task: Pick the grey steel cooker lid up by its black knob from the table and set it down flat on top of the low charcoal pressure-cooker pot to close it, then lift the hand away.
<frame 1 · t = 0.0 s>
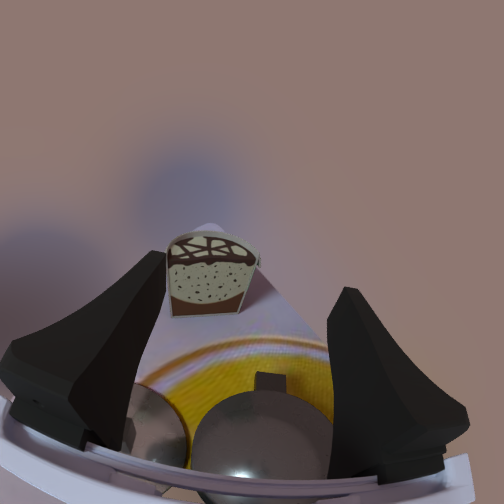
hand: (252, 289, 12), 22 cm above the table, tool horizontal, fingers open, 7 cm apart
cooker pot: (259, 468, 24), on the table
cooker lid: (115, 441, 23), on the table
food container: (201, 302, 43), on the table
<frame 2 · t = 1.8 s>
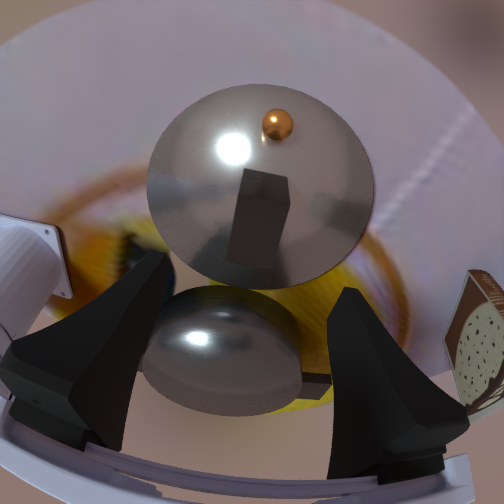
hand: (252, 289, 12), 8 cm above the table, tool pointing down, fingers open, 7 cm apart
cooker pot: (227, 338, 27), on the table
cooker lid: (259, 195, 19), on the table
food container: (477, 301, 23), on the table
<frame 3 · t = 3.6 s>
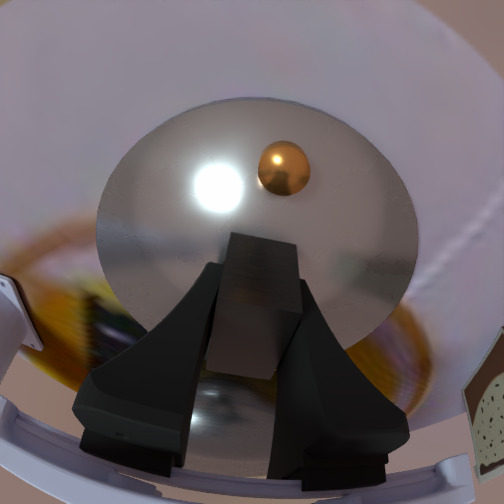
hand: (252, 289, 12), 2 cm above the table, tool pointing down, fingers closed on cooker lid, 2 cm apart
cooker pot: (219, 400, 22), on the table
cooker lid: (254, 262, 13), on the table, touching gripper
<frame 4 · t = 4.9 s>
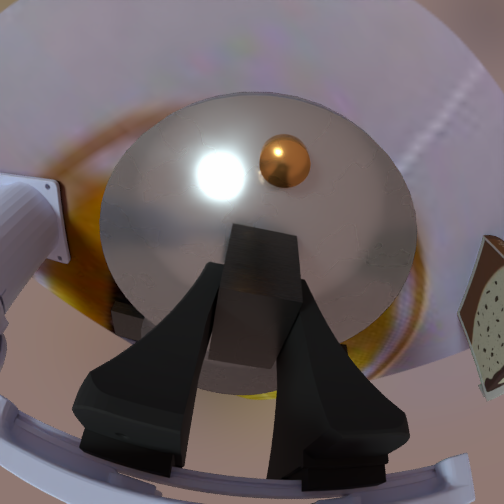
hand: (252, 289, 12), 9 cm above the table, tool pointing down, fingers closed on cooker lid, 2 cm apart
cooker pot: (233, 306, 25), on the table
cooker lid: (256, 253, 14), point 7 cm above the table, touching gripper
food container: (492, 272, 22), on the table
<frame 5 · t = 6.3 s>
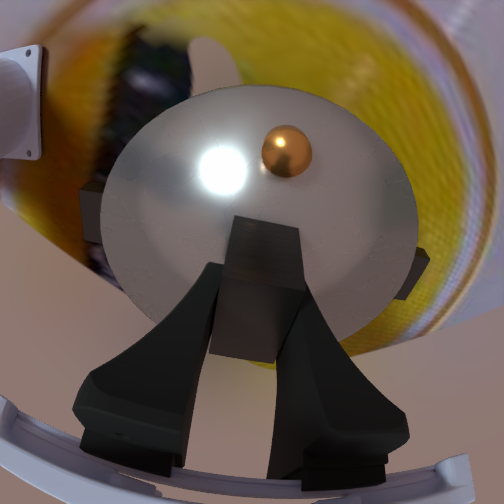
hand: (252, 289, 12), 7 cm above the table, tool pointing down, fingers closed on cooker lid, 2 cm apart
cooker pot: (259, 204, 18), on the table
cooker lid: (257, 248, 14), point 5 cm above the table, touching cooker pot, gripper
when the fingers open (7 cm above the table, at t = 6.5 s): cooker lid stays where it is, resting on cooker pot.
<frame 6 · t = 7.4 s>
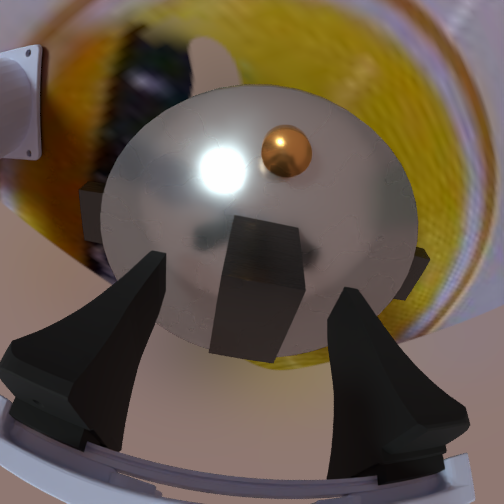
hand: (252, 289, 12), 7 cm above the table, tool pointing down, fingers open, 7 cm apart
cooker pot: (259, 204, 18), on the table
cooker lid: (257, 247, 14), point 5 cm above the table, touching cooker pot
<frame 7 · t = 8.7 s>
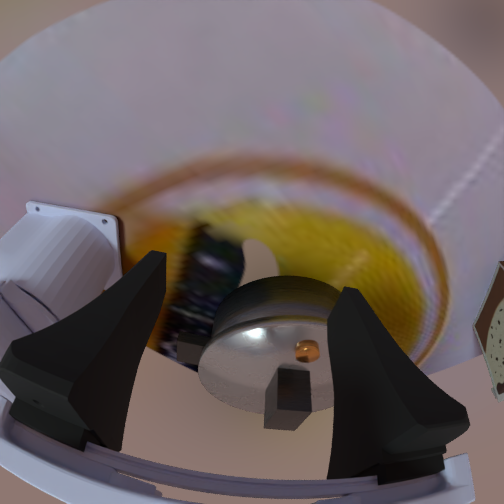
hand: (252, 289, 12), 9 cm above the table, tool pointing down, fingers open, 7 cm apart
cooker pot: (284, 328, 28), on the table
cooker lid: (286, 371, 23), point 5 cm above the table, touching cooker pot
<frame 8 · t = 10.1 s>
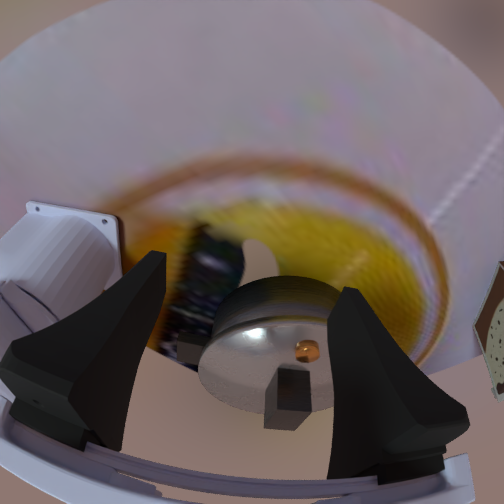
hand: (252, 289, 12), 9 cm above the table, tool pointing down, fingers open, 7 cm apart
cooker pot: (284, 328, 28), on the table
cooker lid: (286, 371, 23), point 5 cm above the table, touching cooker pot
food container: (503, 291, 24), on the table
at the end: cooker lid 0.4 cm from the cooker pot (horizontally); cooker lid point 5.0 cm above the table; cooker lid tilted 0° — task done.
